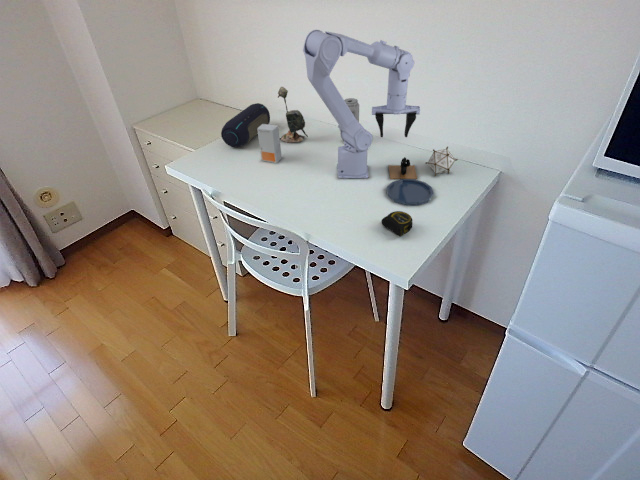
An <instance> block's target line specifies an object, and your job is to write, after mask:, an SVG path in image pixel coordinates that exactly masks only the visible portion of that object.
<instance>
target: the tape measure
mask: <svg viewBox="0 0 640 480" xmlns="http://www.w3.org/2000/svg"><path fill="white" fill-rule="evenodd" d="M381 225H382V226H383V227H384V228H385V229H387V230H389V231H390V232H391V233H393V234H394V235H396V236H397V237H399V238H400V237H402V236H404V234H407V233H409V232H410V231H411V229H412V228H413V218H412V216H411V215H410V214H409V213H408V212H405V211H402V210H396V211H392V212H390V213H388V215H386V216H384V217H382V219H381Z"/></svg>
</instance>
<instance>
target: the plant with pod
mask: <svg viewBox="0 0 640 480" xmlns="http://www.w3.org/2000/svg"><path fill="white" fill-rule="evenodd" d="M288 93H289V90H287V89H286V88H285V86H280V87H279V90H278V91H277V94H278V96H277V98H280V97H281V98H282V99H283V101H284V104H285V110H286V113H285V119H286V122H287V123H286V124H287V128H288V129H289V130H288V131H287V133H284V134H283V135H281V136H280V141H282V142H286V143H301V142H303V141H304V140H305V138H309V135H308V134H306V131H305V130H304V128H305V127H306V121H305V119H304V117H305V116H303V114H302V112H301V111H300V110H299V109H293V110H289V111H288V105H287V99H286V98H287V96H288ZM298 131H301V132H302V133H303V134H304V135H302V134H299V133H298Z"/></svg>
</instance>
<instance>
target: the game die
mask: <svg viewBox="0 0 640 480" xmlns="http://www.w3.org/2000/svg"><path fill="white" fill-rule="evenodd" d="M448 149H449V146H446V148H443V149H438V150H435V149H434V148H432V154H431V156H430V158H429V159H428V161H427V162H424V164H425V165H428V166H429V167H430V169H431V170H432V171H433V173H434V177H436V176H437V175H438V174H442V173H443V174H444V173H447V174H450V171H451V170H450V169H451V168H452V166H453V165H454V163H455V162H457V161H458V160H459V159H458V158H454V156H453V155H452V154H451V152H450V151H449V150H448Z"/></svg>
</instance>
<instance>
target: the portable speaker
mask: <svg viewBox="0 0 640 480" xmlns="http://www.w3.org/2000/svg"><path fill="white" fill-rule="evenodd" d="M270 121H271V114H270V111H269V109H268V107H266V106H265V104H262V103H260V102H257V103H252V104H250V105H248V106H247V107H245V108H244V109H243V110H242V111H240V112H239V113H237V114H236V115H234V116H233V117H231V118H230V119H229V120H228V121H226V122H225V124H224V125H223V126H222V128H221V132H220V136H221V139H222V141H223V142H224V144H226V145H227V146H229V147H231V148H241V147H243V146H245V145H247V144H248V143H249V142H250V141H251V140H252V139H254V138H255V137H256V136H258V130H257V128H258V127H259V126H261V125H262V124H270Z"/></svg>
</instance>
